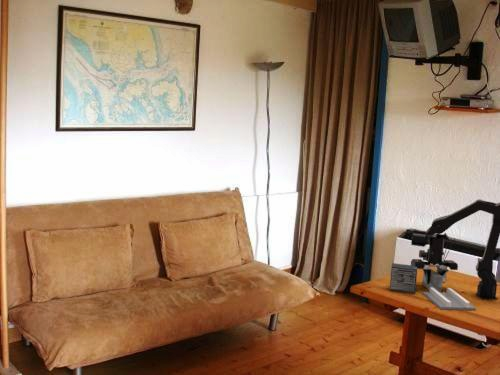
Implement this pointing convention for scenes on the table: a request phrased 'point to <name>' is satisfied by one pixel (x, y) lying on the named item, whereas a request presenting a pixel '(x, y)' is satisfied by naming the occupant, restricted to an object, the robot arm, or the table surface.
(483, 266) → the robot arm
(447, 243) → the reed diffuser
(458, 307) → the sliding track
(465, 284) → the table surface
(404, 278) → the small box
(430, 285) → the long grey rectangular beam
